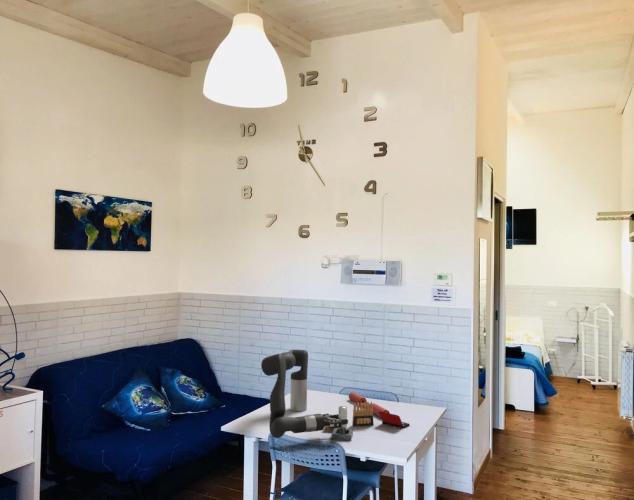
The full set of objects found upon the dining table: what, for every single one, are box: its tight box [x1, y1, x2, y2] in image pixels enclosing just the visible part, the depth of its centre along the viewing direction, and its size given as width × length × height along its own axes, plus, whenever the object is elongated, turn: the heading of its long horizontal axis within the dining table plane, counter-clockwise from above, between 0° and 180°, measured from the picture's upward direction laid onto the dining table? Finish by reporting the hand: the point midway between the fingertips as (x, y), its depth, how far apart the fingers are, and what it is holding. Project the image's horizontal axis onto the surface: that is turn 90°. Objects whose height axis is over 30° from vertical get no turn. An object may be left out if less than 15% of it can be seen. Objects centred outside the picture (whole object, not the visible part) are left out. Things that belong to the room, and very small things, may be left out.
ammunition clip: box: [352, 401, 375, 427], centre depth 274 cm, size 11×2×12 cm, turn 101°
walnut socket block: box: [324, 420, 338, 433], centre depth 268 cm, size 9×9×2 cm
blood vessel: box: [348, 391, 391, 418], centre depth 306 cm, size 42×5×5 cm, turn 21°
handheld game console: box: [379, 411, 410, 430], centre depth 275 cm, size 12×11×7 cm
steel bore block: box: [331, 428, 354, 441], centre depth 256 cm, size 9×9×2 cm
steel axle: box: [338, 405, 348, 434], centre depth 256 cm, size 4×4×14 cm
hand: (343, 418), depth 256 cm, fingers open, 8 cm apart
